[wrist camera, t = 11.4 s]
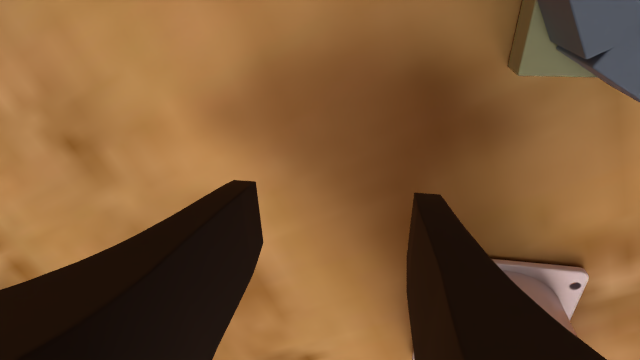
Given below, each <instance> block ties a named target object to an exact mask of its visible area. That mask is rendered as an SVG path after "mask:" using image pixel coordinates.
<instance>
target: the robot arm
mask: <svg viewBox="0 0 640 360" xmlns="http://www.w3.org/2000/svg"><path fill="white" fill-rule="evenodd" d="M262 245H263V236H262V228H261V220H260V212H259V204H258V196H257V189H256V182H253V181H239V180H233V181H231V182H229V183H227V184H225V185H223V186H222V187H220V188H218V189H216V190H215V191H213V192H211V193H210V194H208V195H206V196H204V197H203V198H201V199H199V200H198V201H196V202H194V203H193V204H191V205H189V206H188V207H186V208H184V209H183V210H181V211H179V212H177V213H176V214H174V215H172V216H171V217H169V218H167V219H165V220H163V221H161V222H159V223H158V224H156V225H154V226H152V227H150V228H148V229H147V230H145V231H143V232H141V233H139V234H137V235H135V236H133V237H131V238H129V239H127V240H125V241H123V242H121V243H119V244H117V245H115V246H113V247H111V248H108V249H106V250H104V251H102V252H99V253H97V254H95V255H93V256H90V257H88V258H86V259H83V260H81V261H79V262H76V263H74V264H71V265H68V266H66V267H63V268H60V269H58V270H55V271H52V272H50V273H47V274H44V275H42V276H39V277H37V278H34V279H31V280H29V281H26V282H23V283H20V284H17V285H14V286H11V287H8V288H5V289H2V290H0V360H212V359H213V356H214V354H215V352H216V350H217V347H218V345H219V343H220V341H221V339H222V337H223V335H224V333H225V331H226V329H227V327H228V325H229V323H230V321H231V319H232V317H233V315H234V313H235V311H236V309H237V307H238V305H239V302H240V300H241V298H242V296H243V294H244V292H245V290H246V288H247V286H248V284H249V282H250V280H251V277H252V275H253V273H254V270H255V267H256V264H257V261H258V258H259V255H260V251H261V248H262ZM588 279H589V276H588V274H587V272H586V271H585V270H584V269H583V268H580V267H572V266H562V265H551V264H541V263H530V262H519V261H509V260H498V259H491V258H490V257H489V256H488V255H487V253H486V252H485V251H484V250H483V249H482V248H481V246H480V245H479V244H478V243H477V242H476V240H475V239H474V238H473V237H472V236H471V234H470V233H469V232H468V231H467V229H466V228H465V227H464V226H463V224H462V223H461V222H460V220H459V219H458V218H457V216H456V215H455V214H454V212H453V211H452V210H451V208H450V207H449V206H448V204H447V203H446V201H445V200H444V199H443V198H442V196H441V195H439V194H424V193H414V200H413V208H412V217H411V225H410V233H409V242H408V250H407V299H408V308H409V316H410V325H411V334H412V342H413V355H412V360H607V359H605V358H604V357H602V356H601V355H600V354H599V353H597V352H596V351H595V350H593V349H592V348H591V347H590V346H588V345H587V344H586V343H584V342H583V341H582V340H581V339H579V338H578V337H577V335H576V333H575V331H574V329H573V327H572V325H571V323H570V319H571V317H572V315H573V312H574V310H575V308H576V306H577V304H578V301H579V299H580V297H581V295H582V293H583V290H584V288H585V286H586V284H587V282H588ZM575 282H576V283H575ZM572 283H575V284H572Z"/></svg>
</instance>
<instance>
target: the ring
mask: <svg viewBox="0 0 640 360" xmlns="http://www.w3.org/2000/svg"><path fill="white" fill-rule="evenodd" d="M537 1H538V4H539V7H540V10H541V13H542V16H543V19H544V23H545V26H546V29H547V32H548V35H549V38H550V41H551V42H553V43H555V44H557V45H558V46H557V47H556V49H557V50H558V51H560V52H561V53H563V54H564V55H566V56H567V57H569V58H570V59H572V60H573V61H575V62H576V63H578V64H579V65H581V66H582V67H584V68H585V69H586V70H588V71H589V72H591V73H592V74H594V75H595V76H597V77H598V78H600V79H601V80H603V81H604V82H606V83H607V84H609V85H610V86H612V87H614V88H615V89H617V90H619V91H621V92H622V93H624V94H626V95H628V96H629V97H631V98H633V99H635V100H636V101H638V102H640V0H537Z"/></svg>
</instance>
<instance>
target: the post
mask: <svg viewBox="0 0 640 360" xmlns="http://www.w3.org/2000/svg"><path fill="white" fill-rule="evenodd" d="M557 46H558V45H557V44H555V43H553V42H551V41H550V38H549V35H548V32H547V29H546V26H545V23H544V19H543V16H542V13H541V10H540V7H539V4H538V1H537V0H523V1H522V5H521V10H520V14H519V19H518V23H517V28H516V32H515V36H514V41H513V45H512V50H511V54H510V59H509V63H508V67H509V68H510V69H511V70H512V71H513V72H515V73H516V74H517V75H518V76H555V77H597V76H595V75H594V74H592V73H591V72H589V71H588V70H586V69H585V68H584V67H582V66H581V65H579V64H578V63H576V62H575V61H573V60H572V59H570V58H569V57H567V56H566V55H564V54H563V53H561V52H560V51H558V50H557V49H556V47H557Z"/></svg>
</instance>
